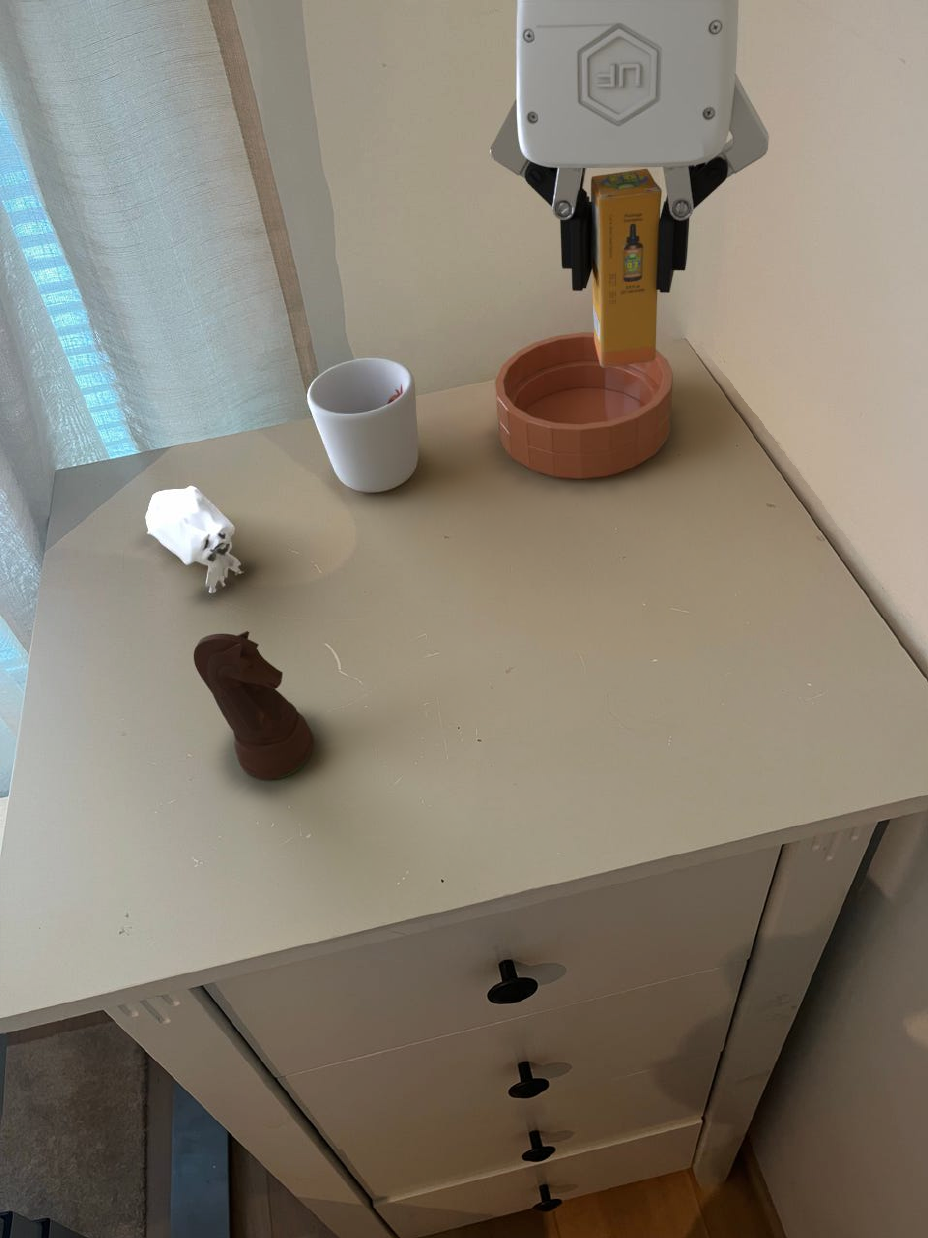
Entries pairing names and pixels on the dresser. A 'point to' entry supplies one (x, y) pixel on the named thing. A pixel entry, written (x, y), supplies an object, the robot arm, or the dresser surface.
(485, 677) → the dresser surface
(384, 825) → the dresser surface
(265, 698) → the chess piece
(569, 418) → the bowl
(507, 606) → the dresser surface
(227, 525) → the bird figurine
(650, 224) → the supplement box
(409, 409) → the cup
